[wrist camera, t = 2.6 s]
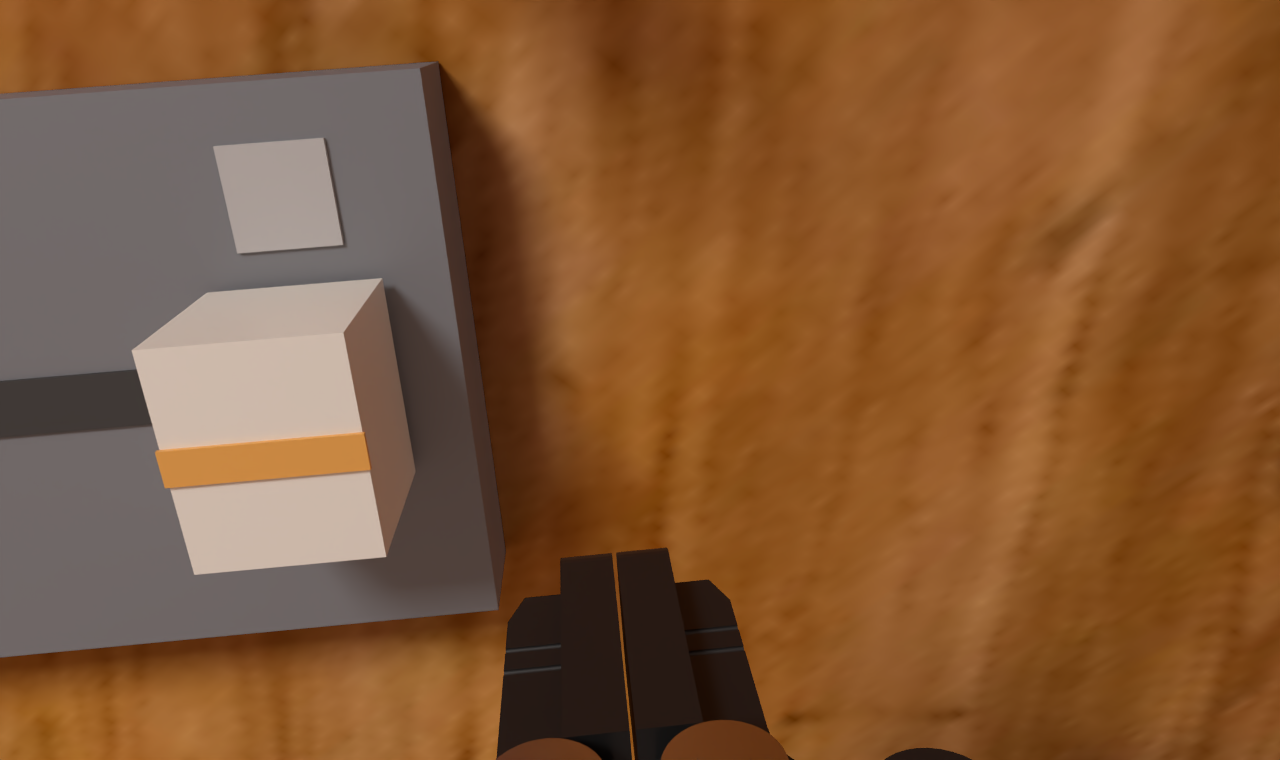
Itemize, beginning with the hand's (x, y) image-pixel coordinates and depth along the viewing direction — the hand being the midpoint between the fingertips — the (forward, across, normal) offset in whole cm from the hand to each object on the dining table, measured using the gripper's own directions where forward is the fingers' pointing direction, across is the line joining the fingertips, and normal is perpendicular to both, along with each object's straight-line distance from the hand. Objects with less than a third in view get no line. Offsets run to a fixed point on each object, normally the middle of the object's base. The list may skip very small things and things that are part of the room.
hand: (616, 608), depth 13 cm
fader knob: (+11, +7, 0) cm, 12 cm away
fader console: (+14, +14, 0) cm, 19 cm away
